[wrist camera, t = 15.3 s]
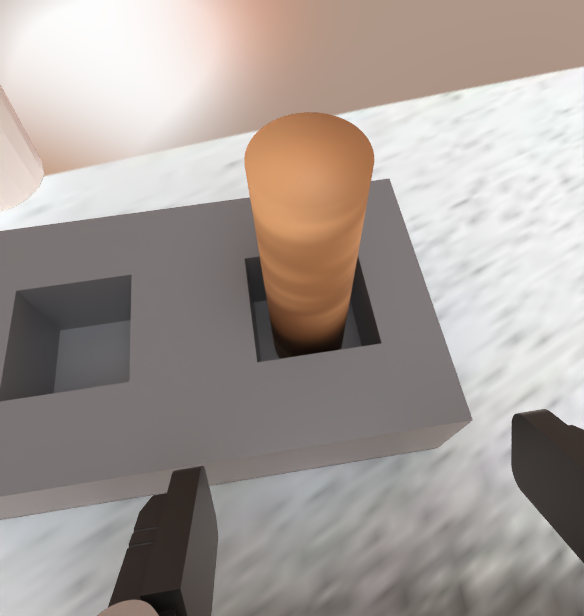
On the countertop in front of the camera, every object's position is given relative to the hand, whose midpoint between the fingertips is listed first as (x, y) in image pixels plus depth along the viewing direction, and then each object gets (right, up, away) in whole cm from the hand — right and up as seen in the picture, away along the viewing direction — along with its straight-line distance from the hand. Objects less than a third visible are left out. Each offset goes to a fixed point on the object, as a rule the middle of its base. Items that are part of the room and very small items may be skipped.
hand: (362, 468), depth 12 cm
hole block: (-6, +1, +12) cm, 13 cm away
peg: (-1, +3, +11) cm, 11 cm away
